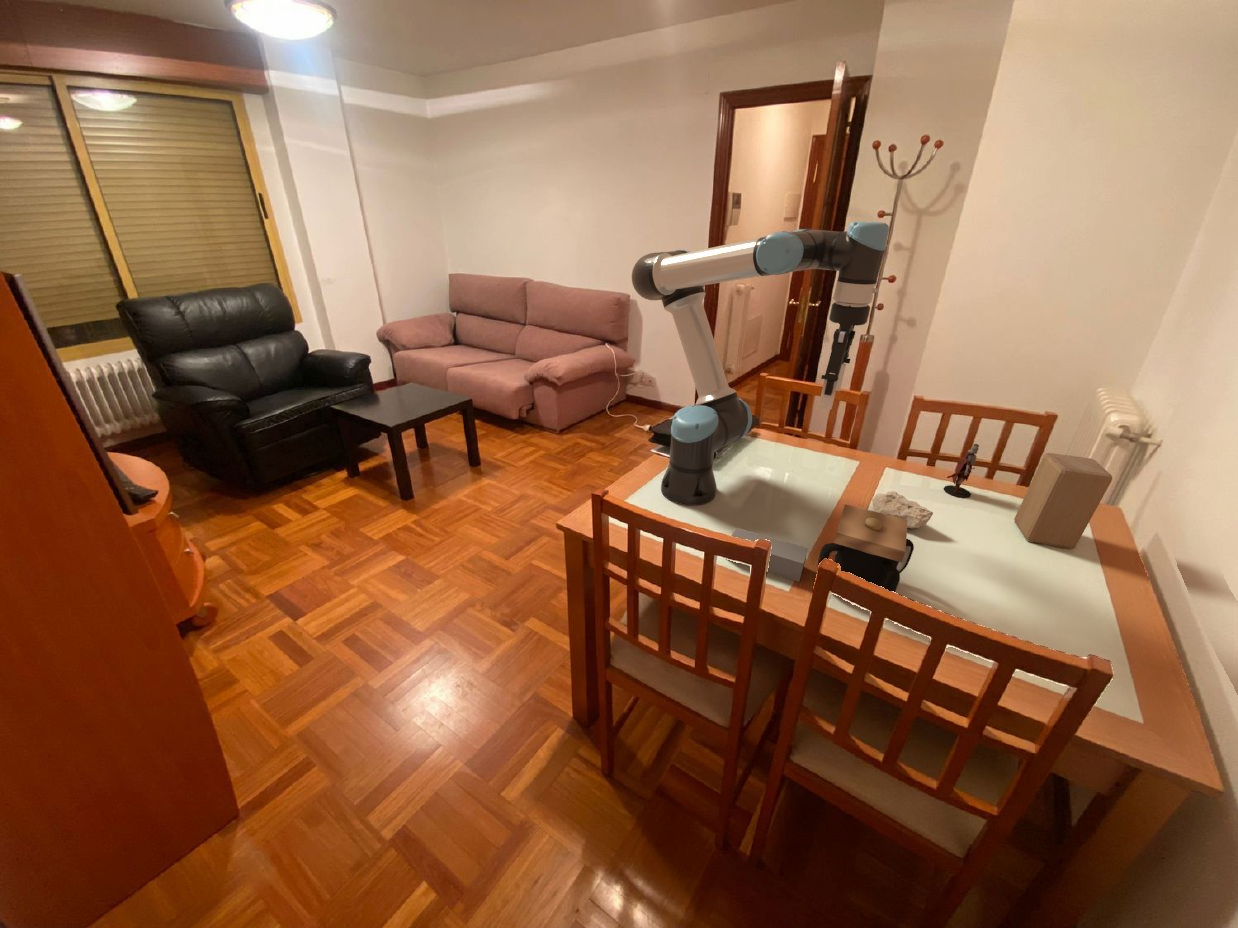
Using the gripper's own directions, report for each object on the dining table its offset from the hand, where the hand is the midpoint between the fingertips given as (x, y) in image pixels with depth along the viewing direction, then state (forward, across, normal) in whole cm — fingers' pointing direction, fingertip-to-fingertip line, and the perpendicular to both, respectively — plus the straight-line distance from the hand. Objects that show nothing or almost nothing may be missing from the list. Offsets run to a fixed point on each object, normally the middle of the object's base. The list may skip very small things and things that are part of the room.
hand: (829, 398), depth 115 cm
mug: (+31, -22, -15) cm, 41 cm away
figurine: (+31, +33, -36) cm, 58 cm away
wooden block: (+31, +19, -54) cm, 65 cm away
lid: (+19, -22, -15) cm, 33 cm away
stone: (+32, +8, -21) cm, 39 cm away
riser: (+31, -26, +4) cm, 41 cm away
